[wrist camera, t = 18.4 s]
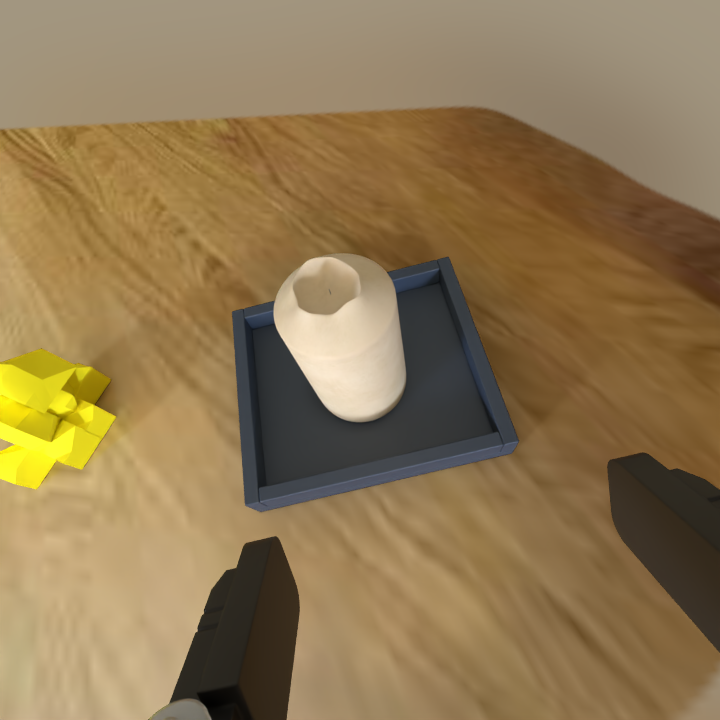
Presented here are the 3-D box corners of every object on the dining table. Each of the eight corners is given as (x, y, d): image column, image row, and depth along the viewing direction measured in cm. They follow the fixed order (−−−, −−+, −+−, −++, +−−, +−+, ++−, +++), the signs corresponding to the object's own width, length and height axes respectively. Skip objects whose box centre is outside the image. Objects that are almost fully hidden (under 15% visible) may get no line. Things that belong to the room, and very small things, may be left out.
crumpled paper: (-3, 468, 29) (-139, 432, 22) (73, 364, 32) (-27, 304, 25) (60, 501, 27) (-66, 474, 20) (134, 388, 30) (46, 331, 23)
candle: (424, 368, 27) (420, 261, 18) (371, 441, 25) (338, 365, 16) (353, 327, 29) (317, 214, 20) (300, 393, 27) (235, 301, 18)
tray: (447, 277, 30) (448, 256, 28) (512, 453, 24) (519, 441, 22) (244, 328, 31) (231, 311, 29) (260, 512, 25) (244, 506, 23)
